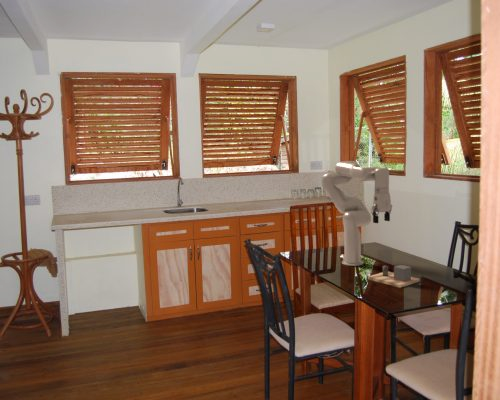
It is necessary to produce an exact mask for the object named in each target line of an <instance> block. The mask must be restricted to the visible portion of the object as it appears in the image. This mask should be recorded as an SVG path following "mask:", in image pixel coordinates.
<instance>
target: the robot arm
mask: <svg viewBox="0 0 500 400" xmlns="http://www.w3.org/2000/svg"><path fill="white" fill-rule="evenodd" d="M334 168H335V169H334V170H335V171H334V172H333V171H332V172H328V173H325V174H324V175H323V176H322V178H321V185H322V189H323V191H324V192H325V194H326V195H327V196H328V197H329V198H330V200H331V202H332V203H333V204H334V206H335V207H336V209H337V211H338V212H339V213H340V214H343V215H342V224H343V231H344V232H343V233H344V237H343V238H344V241H343V243H344V249H343V250H344V254H341V255H340V256H339V257H340V258H341V259H342V260H341V264H342V265H344V266H350V267H351V266H352V267H353V266H354V267H356V266H357V267H359V266H362V265H364V261H363V260H361V259H362V258H361V257H362V256H361V255H362V252H361V251H362V250H361V249H362V248H361V245H362V243H361V242H362V240H361V239H362V233H361V232H360V229H359V227H364V226H368V225H370V223H371V222H372V223H374V224H379V217H380V216H379V213H384V217H383V218H384V219H383V220H384V222H390V221H391V220H390V218H391V216H390V215H391V211H392V208H393V205H392V201H391V195H390V170H389V168H387V167H378V166H377V167H376V166H370V167H361V165H360V164H358V162H356V161H354V160H344V161H343V160H342V161H339V162H337V163H336V164H335V167H334ZM352 180H354V181H358V182H373V181H374V195H373V201H372V206H371V207H370V211H371V212H369V210H368V208H367V207H366V205H365V203H363V201H362V200H361V199H360V198H359V197H357V196H351V197H348V196H347V195H346V194H345V192H344V191H343V190H342V189H341V188H339V187H338V186H340V187H341V186H347V185H348V184H349V183H350V182H351V181H352ZM371 215H372V216H371Z"/></svg>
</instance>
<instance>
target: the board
mask: <svg viewBox="0 0 500 400" xmlns="http://www.w3.org/2000/svg"><path fill="white" fill-rule="evenodd" d="M367 280H369V281H373V282H377V283H380V284H384V285H388V286H389V285H390V286H392V287H396V288H400V289H401V288H404V287H407V286H410V285H413V284H415V283H419V282H420V278H418V277H415V276H414V277H413V276H411V280H408V281H405V282H403V281H399V280H395V279H394V271H393V272H392V271H389V266H388V265H382V272H379V273H375V274H372V275H368V276H367Z"/></svg>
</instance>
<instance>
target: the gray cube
mask: <svg viewBox="0 0 500 400" xmlns="http://www.w3.org/2000/svg"><path fill="white" fill-rule="evenodd" d="M393 273H394V279H395V280H399V281H403V282H405V281H408V280H411V277H412V267H411V266H407V265H404V264H403V265H402V264H399V265H396V266H394V267H393Z"/></svg>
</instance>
